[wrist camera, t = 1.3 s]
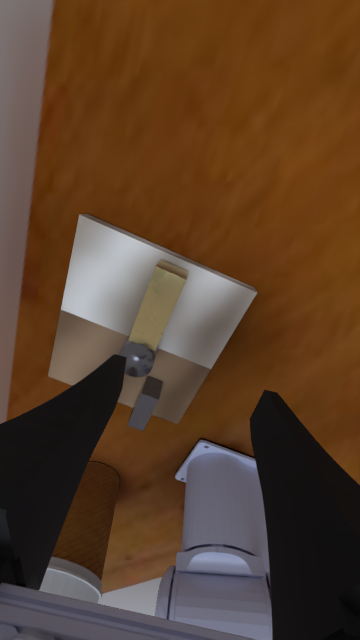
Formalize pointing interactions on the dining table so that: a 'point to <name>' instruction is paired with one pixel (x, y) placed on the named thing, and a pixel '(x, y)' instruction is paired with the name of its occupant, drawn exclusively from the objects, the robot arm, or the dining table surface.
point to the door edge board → (122, 309)
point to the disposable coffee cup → (84, 537)
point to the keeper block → (145, 403)
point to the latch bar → (153, 318)
